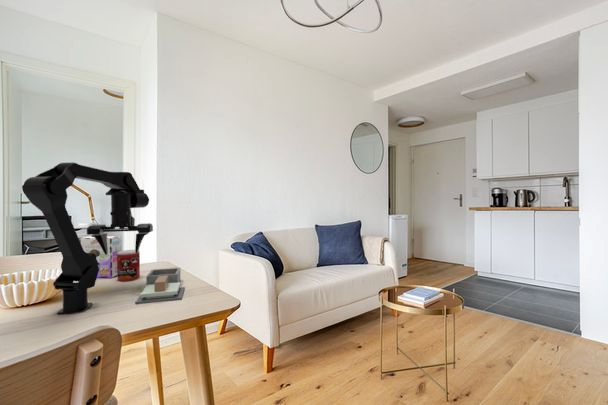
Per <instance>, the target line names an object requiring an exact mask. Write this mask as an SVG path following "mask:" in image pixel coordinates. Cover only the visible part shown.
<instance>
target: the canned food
mask: <svg viewBox="0 0 608 405" xmlns="http://www.w3.org/2000/svg"><path fill="white" fill-rule="evenodd" d="M140 254H141V253H140V249H139V250H138V253H136V251H135V249H127V250H121V251H119V252H117V276H116V277H117V281H118V282H132V281H136V280H138V279H139V278H140V274H141V273H140V272H141V270H140V259H141V258H140Z"/></svg>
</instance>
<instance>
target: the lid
mask: <svg viewBox="0 0 608 405" xmlns="http://www.w3.org/2000/svg"><path fill="white" fill-rule="evenodd" d="M180 287H181V281H180V282H177V283H169V282H168V276H159V277H158V278H157V280H156V281H155V282H154V284H153V285H147V286H145V288H144V289H143V290H142V291H141V293H140V295H139V296H140V297H141V298H142V297H146V299H152V298H163V297H173V296H174V295H175V294H177V293H178V291H179V288H180Z"/></svg>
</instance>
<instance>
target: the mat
mask: <svg viewBox="0 0 608 405" xmlns="http://www.w3.org/2000/svg"><path fill="white" fill-rule="evenodd" d="M185 287H186V286H180V288H179V291H178V293H177V294H175V295H174V296H173V297H163V298H152V299H146V297H142V298H141V297H140V295H139V296H138V298H137V299H136V301H135V302H134V304H135V305H141V304H151V303H162V302H172V301H182V298H183V296H184V292H185V289H186V288H185Z"/></svg>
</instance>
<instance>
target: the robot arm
mask: <svg viewBox="0 0 608 405" xmlns="http://www.w3.org/2000/svg"><path fill="white" fill-rule="evenodd" d="M75 179H77V180H78V179H79V180H83V181H90V182H93V183H100V184H102V185H104V186H105V187H107V188H110V189H109V190H108V191H107V192H106V193H105V196H110V202H111V203H110V206H111V207H110V210H111V211H110V213H109V214H110V216H111V223H110V226H107V225H106V224H92V225H89V226H87V228H86V235H87V236H88V235H90V236H92V237H95V238H96V240H97V241H98V243H99V244H100V246H101V248H102V250H103V251H104V253H105V255H107V254H108V248H107V236H108V232H109V233H114V232H115V233H116V232H117V233H118V232H138V233H136V234H135V248H134V250H135V251H136V253H138V250H139V251H140V247H141V243H142V241H143V240H144V237H145V236H147V235H149V233H151V232H153V231H154V227H153V224H152V223H150V222H149V223H139V224H137V225H135V218H134V216H133V215H132V209H139V208H141V209H142V208H146V207H147V206H148V205H149V203H150V198H149V196H148V195H147V194H146V192H145V190H144V189H141V188H140V187H139V185H138V183H137V181H136V180H135V178H134V177H133V174H132V173H131V172H130V171H129V172H128V171H108V170H104V169H100V168H95V167H91V166H87V165H82V164H79V163H77V162H73V161H72V162H71V161H70V162H59V163H58V164H56V165H55V166H53V167H51V168H49V169H48V170H45V171H43V172H41V173H39V174H37V175H35V176H33V177H29V178H27V179H26V180H24V183H23V184H22V185H21V189H22V192H23V194H24V195H25V197H26V198H27V199H28V201H29V202H30V203H31V205H33V206H35V207H36V208H37V209H38V210H39V211H40V212H41V213H42V214H43V217H44V219H45V220H46V223H47V225H48V227H49V229H50V232H51V234H52V236H53V238H54V240H55V243H56V245H57V247H58V248H59V249H58V250H59V251H60V254H61V256H62V259H61V260H62V261H61V264H60V268H61V273H60V274H59V275H58V277H57V278H56V279H55V280H54V281H53V283H52V285H53V287H54V289H55V290H61V292H62V293H61V294H62V308H61V309H60V310H58V311H56V312H57V313H56V314H57V315H63V314H73V313H81V312H82V313H84V312H86V310H88V309H89V307H91V306H92V305H93V302H88V296H89V295H88V290H89V289H91V288H93V287H95V285H96V282H97V279H98V278H97V275H98V272H99V267H98V265H100V264H99V263H98V261H97V259H96V255H95V254H94V253H86V252H85V251H84V250H83V248H82V245H81V243H80V237H79V236H78V233H77V232H76V229H75V227H74V224H73V222H72V220H71V217H70V215H69V213H68V211H67V206H66V204H67V199H68V193H67V189H68V188H70V187H71V186H73V184H74V182H75Z"/></svg>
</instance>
